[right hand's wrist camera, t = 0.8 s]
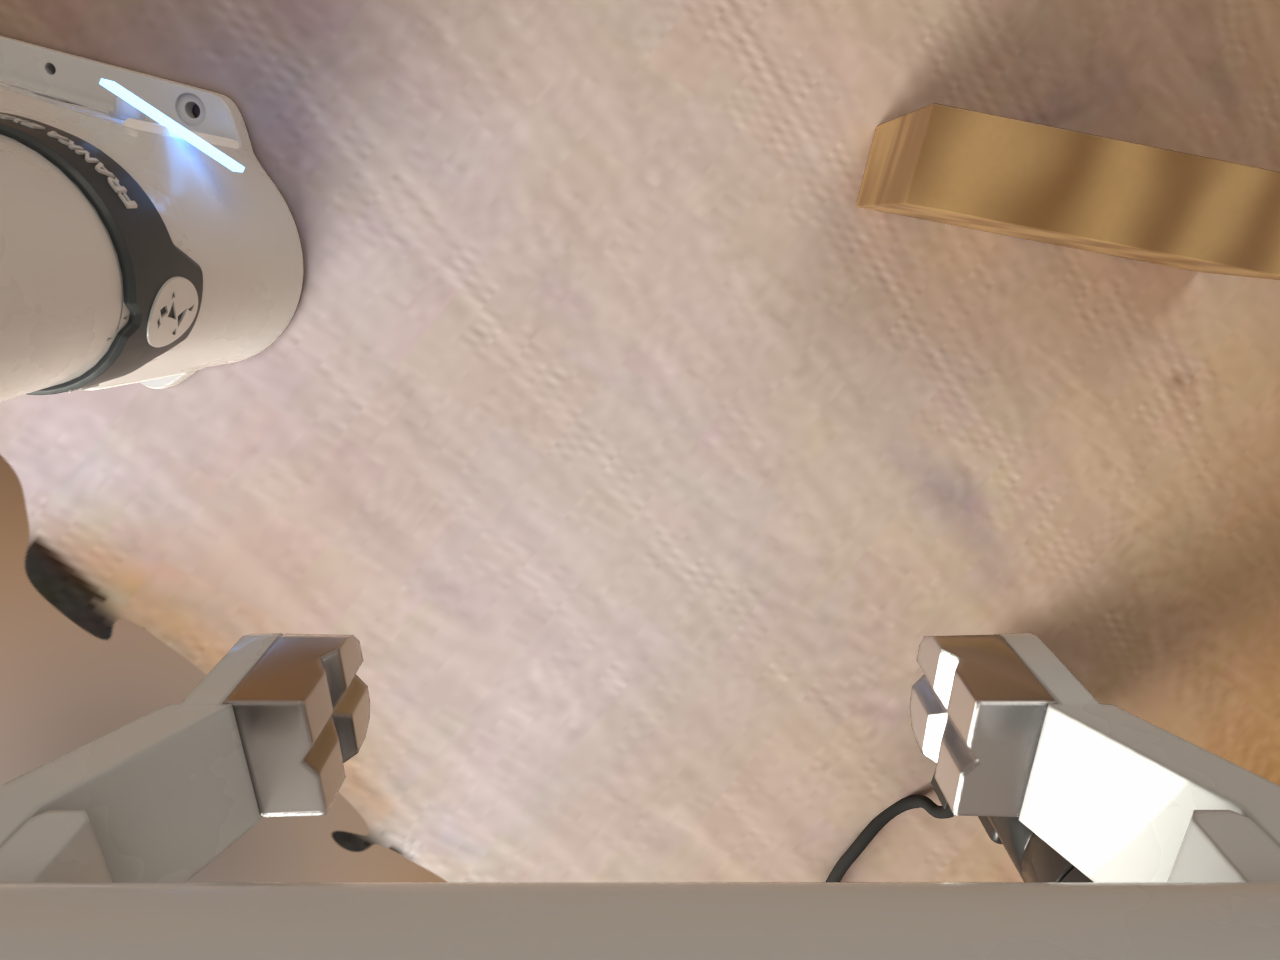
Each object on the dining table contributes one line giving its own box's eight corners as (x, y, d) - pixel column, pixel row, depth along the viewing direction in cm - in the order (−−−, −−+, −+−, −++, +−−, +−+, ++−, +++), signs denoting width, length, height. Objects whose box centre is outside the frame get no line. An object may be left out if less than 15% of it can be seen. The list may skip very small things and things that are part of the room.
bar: (855, 206, 43) (905, 203, 35) (876, 125, 42) (933, 102, 33) (1199, 272, 44) (1328, 284, 36) (1232, 195, 43) (1374, 190, 34)
